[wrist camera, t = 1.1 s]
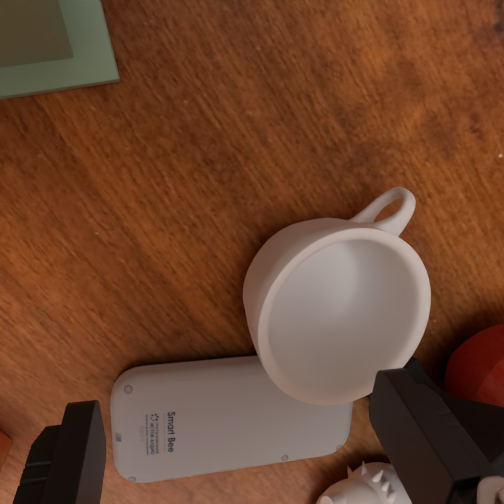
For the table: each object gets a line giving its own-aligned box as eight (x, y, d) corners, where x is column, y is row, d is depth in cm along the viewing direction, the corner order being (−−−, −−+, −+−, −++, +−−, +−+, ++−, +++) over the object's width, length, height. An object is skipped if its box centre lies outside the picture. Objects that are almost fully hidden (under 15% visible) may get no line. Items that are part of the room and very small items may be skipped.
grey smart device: (114, 493, 21) (116, 464, 23) (351, 456, 24) (336, 433, 26) (106, 382, 19) (110, 360, 21) (362, 357, 22) (345, 340, 24)
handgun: (499, 476, 15) (342, 364, 24) (574, 672, 20) (417, 515, 29) (552, 425, 16) (380, 335, 25) (613, 626, 20) (447, 487, 29)
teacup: (313, 368, 24) (359, 431, 19) (199, 306, 21) (217, 360, 16) (418, 220, 23) (495, 244, 18) (312, 137, 20) (368, 138, 15)
